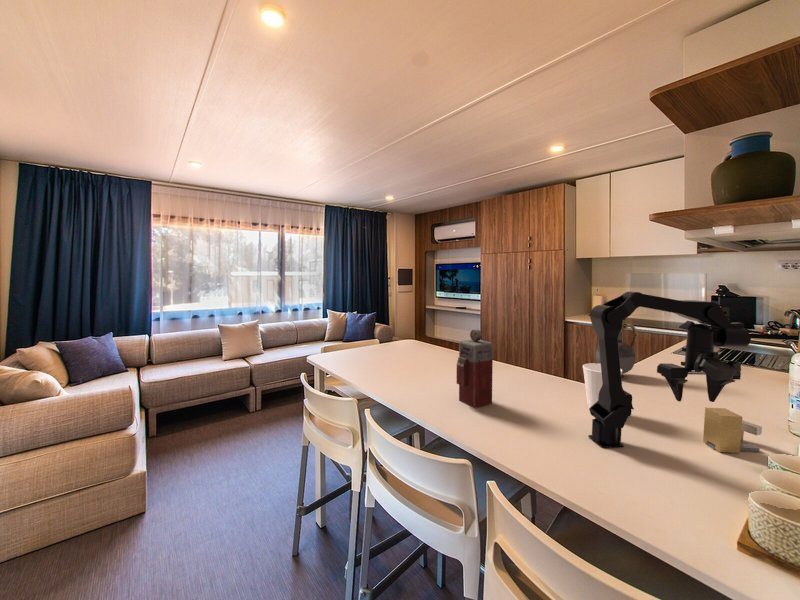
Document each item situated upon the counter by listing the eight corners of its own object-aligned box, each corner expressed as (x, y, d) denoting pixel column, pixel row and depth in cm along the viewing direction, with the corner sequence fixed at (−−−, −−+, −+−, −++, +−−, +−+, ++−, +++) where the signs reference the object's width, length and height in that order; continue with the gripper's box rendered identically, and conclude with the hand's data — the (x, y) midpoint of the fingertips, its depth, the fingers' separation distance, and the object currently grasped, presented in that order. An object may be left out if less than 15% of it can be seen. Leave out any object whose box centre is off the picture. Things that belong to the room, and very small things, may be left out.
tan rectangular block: (719, 451, 89) (721, 415, 89) (703, 441, 95) (705, 407, 94) (739, 452, 89) (742, 416, 88) (722, 442, 94) (724, 408, 94)
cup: (584, 416, 113) (585, 370, 111) (578, 403, 124) (579, 361, 122) (625, 421, 108) (627, 374, 107) (615, 408, 120) (617, 364, 118)
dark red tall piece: (453, 401, 127) (454, 329, 125) (476, 396, 133) (476, 326, 130) (469, 409, 119) (469, 332, 117) (492, 403, 125) (493, 330, 123)
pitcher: (591, 374, 160) (593, 312, 158) (624, 371, 164) (626, 311, 162) (609, 381, 150) (612, 315, 147) (644, 377, 154) (647, 313, 151)
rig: (714, 449, 91) (715, 428, 90) (690, 434, 100) (691, 414, 99) (769, 452, 89) (770, 430, 89) (740, 436, 98) (741, 416, 98)
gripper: (691, 352, 83) (686, 412, 84) (765, 353, 83) (759, 413, 84) (657, 343, 94) (653, 396, 96) (722, 344, 94) (717, 397, 96)
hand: (695, 401), depth 92 cm, fingers open, 9 cm apart
